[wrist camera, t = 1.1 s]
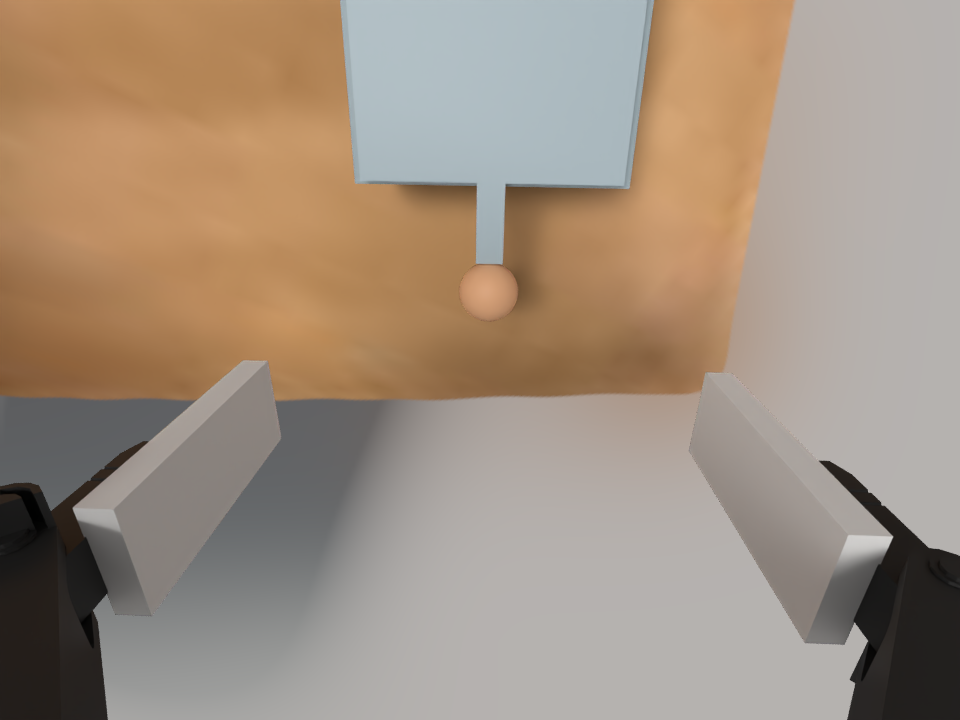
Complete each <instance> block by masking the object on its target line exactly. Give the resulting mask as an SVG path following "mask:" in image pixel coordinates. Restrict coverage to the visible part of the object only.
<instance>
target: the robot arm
mask: <svg viewBox="0 0 960 720" xmlns="http://www.w3.org/2000/svg"><path fill="white" fill-rule="evenodd" d="M280 440H281V433H280V427H279V422H278V416H277V410H276V405H275V399H274V393H273V388H272V382H271V376H270V370H269V365H268V361H248V360H243V361H242V362H241V363H239V364H238V365H237V366H236V367H235V368H234V369H232V370H231V371H230V372H229V373H228V374H227V375H225V376H224V377H223V378H222V379H221V380H220V381H219V382H217V383H216V384H215V385H214V386H213V387H212V388H210V389H209V390H208V391H207V392H206V393H205V394H204V395H202V396H201V397H200V398H199V399H198V400H197V401H195V402H194V403H193V404H192V405H191V406H190V407H189V408H187V409H186V410H185V411H184V412H183V413H182V414H180V415H179V416H178V417H177V418H176V419H175V420H174V421H172V422H171V423H170V424H169V425H168V426H167V427H165V428H164V429H163V430H162V431H161V432H160V433H159V434H157V435H156V436H155V437H154V438H153V439H152V440H150V441H149V442H148V441H143V442H141V443H140V444H138V445H135V446H134V447H132V448H130V449H128V450H126V451H124V452H122V453H120V454H119V455H118V456H117V457H116V458H114V459H113V460H112V461H111V462H110V463H109V464H107V465H106V466H105V469H102V470H100V471H99V472H98V473H97V474H95V475H94V476H93V477H92V478H91V481H87V482H86V483H84V484H83V485H82V486H81V487H80V488H78V489H77V490H76V491H75V492H74V493H72V494H71V495H70V496H69V497H68V498H66V499H65V500H64V501H63V502H62V503H60V504H59V505H58V506H57V507H56V508H54V509H53V510H52V511H50V509H49V507H48V504H47V502H46V500H45V497H44V495H43V492H42V490H41V489H40V487H39V485H35V484H32V483H14V484H9V485H5V486H0V720H108V717H107V708H106V697H105V687H104V678H103V668H102V658H101V648H100V638H99V629H98V621H97V619H96V617H95V614H94V612H93V609H94V608H95V607H96V606H97V605H98V603H99V602H100V601H101V600H102V599H103V598H104V596H105V595H106V594H107V595H108V598H109V600H110V603H111V605H112V608H113V610H114V612H115V615H135V616H152V615H153V614H154V612H155V611H156V610H157V609H158V607H159V606H160V604H161V603H162V602H163V600H164V599H165V597H166V596H167V595H168V593H169V592H170V591H171V589H172V588H173V587H174V585H175V584H176V582H177V581H178V580H179V578H180V577H181V575H182V574H183V573H184V571H185V570H186V569H187V567H188V566H189V565H190V563H191V562H192V560H193V559H194V558H195V556H196V555H197V554H198V552H199V551H200V549H201V548H202V547H203V545H204V544H205V543H206V541H207V540H208V538H209V537H210V536H211V534H212V533H213V532H214V530H215V529H216V527H217V526H218V525H219V523H220V522H221V521H222V519H223V518H224V516H225V515H226V514H227V512H228V511H229V510H230V508H231V507H232V505H233V504H234V503H235V501H236V500H237V499H238V497H239V496H240V495H241V493H242V491H243V490H244V489H245V487H246V486H247V485H248V484H249V482H250V481H251V479H252V478H253V476H254V475H255V474H256V472H257V471H258V470H259V468H260V467H261V466H262V464H263V463H264V462H265V460H266V459H267V457H268V456H269V455H270V453H271V452H272V451H273V449H274V448H275V446H276V445H277V444H278V442H279V441H280ZM689 452H690V453H691V455H692V457H693V458H694V460H695V462H696V463H697V465H698V467H699V468H700V470H701V472H702V473H703V475H704V477H705V478H706V480H707V481H708V483H709V485H710V487H711V488H712V490H713V492H714V493H715V495H716V497H717V498H718V500H719V502H720V503H721V505H722V506H723V508H724V510H725V511H726V513H727V515H728V516H729V518H730V520H731V521H732V523H733V525H734V526H735V528H736V530H737V531H738V533H739V535H740V536H741V538H742V540H743V541H744V543H745V545H746V546H747V548H748V550H749V551H750V553H751V554H752V556H753V558H754V560H755V561H756V563H757V565H758V566H759V568H760V570H761V571H762V573H763V575H764V576H765V578H766V579H767V581H768V583H769V584H770V586H771V588H772V589H773V591H774V593H775V594H776V596H777V598H778V599H779V601H780V603H781V604H782V606H783V608H784V609H785V611H786V613H787V614H788V616H789V617H790V619H791V621H792V623H793V624H794V626H795V628H796V629H797V631H798V633H799V634H800V636H801V637H802V639H803V640H804V642H805V643H816V644H841V645H844V644H845V642H846V640H847V638H848V636H849V634H850V631H851V629H852V627H853V625H854V622H855V623H856V625H857V626H858V627H859V629H860V630H861V632H862V633H863V634H864V636H865V637H866V638H867V640H868V642H867V644H866V646H865V649H864V651H863V653H862V655H861V657H860V659H859V661H858V663H857V666H856V668H855V670H854V672H853V674H852V676H851V678H850V680H851V681H853V682H855V688H854V692H853V696H852V701H851V705H850V710H849V714H848V719H847V720H960V556H958V555H956V554H953V553H949V552H946V551H943V550H940V549H932V548H928V547H927V546H926V545H925V544H924V543H923V542H922V541H921V540H920V539H919V538H918V537H917V536H916V535H915V534H914V533H912V532H911V531H910V530H909V529H908V528H907V527H906V526H905V525H904V524H903V523H902V522H901V521H900V520H899V519H898V518H897V517H896V516H895V515H894V514H893V513H891V512H890V511H889V510H888V509H887V508H886V507H885V506H882V505H881V502H880V501H879V500H878V499H877V498H876V497H875V496H874V495H873V494H872V493H868V489H866V488H865V487H864V486H863V485H862V484H861V483H860V482H859V481H858V480H857V479H856V478H855V477H854V476H853V475H852V474H850V473H849V472H847V471H845V470H843V469H842V468H840V467H838V466H837V465H835V464H833V463H832V462H830V461H818V460H817V459H816V458H815V457H814V456H813V455H812V454H811V453H810V452H809V451H808V450H807V449H806V448H805V447H804V446H803V445H802V444H801V443H800V442H799V441H798V440H797V439H796V438H795V437H794V436H793V435H792V434H791V433H790V431H789V430H788V429H787V428H786V427H785V426H783V424H782V423H781V422H779V420H778V419H777V418H775V416H774V415H773V414H772V413H771V412H769V410H768V409H767V408H766V407H765V406H764V405H763V404H762V403H761V402H760V401H759V400H758V399H757V398H756V397H755V396H754V395H753V394H752V393H751V392H750V391H749V390H748V389H747V388H746V387H745V386H744V385H743V384H742V383H741V382H740V381H739V380H738V379H737V378H736V377H735V376H734V375H733V374H732V373H711V372H706V373H705V378H704V382H703V387H702V392H701V396H700V401H699V406H698V410H697V415H696V419H695V424H694V429H693V433H692V438H691V443H690V448H689Z"/></svg>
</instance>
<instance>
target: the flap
mask: <svg viewBox="0 0 960 720" xmlns="http://www.w3.org/2000/svg"><path fill="white" fill-rule="evenodd" d="M346 6H347V19H348V32H349V45H350V58H351V71H352V84H353V97H354V109H355V122H356V135H357V148H358V161H359V174H360V181H389V182H441V183H477V223H476V264H477V265H475V266H473V267H472V268H470V269H469V270H468V271H467V272H466V274H465V275H464V277H463V278H462V280H461V283H460V289H459V295H460V300H461V303H462V305H463V307H464V309H465V310H466V311H467V312H468V313H469V314H470V315H471V316H473V317H474V318H476V319H479V320H482V321H496V320H499V319H501V318H503V317H505V316H506V315H508V314H509V313H510V312H511V310H512V309H513V308H514V306H515V304H516V302H517V298H518V285H517V282H516V279H515V277H514V276H513V274H512V273H511V272H510V271H509V270H508V269H507V268H506V267H504V266H503V265H501V264H503V240H504V211H505V184H545V185H597V186H624V183H625V175H626V167H627V159H628V151H629V143H630V135H631V127H632V119H633V111H634V103H635V95H636V87H637V79H638V72H639V64H640V56H641V48H642V40H643V32H644V24H645V16H646V8H647V0H346Z"/></svg>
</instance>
